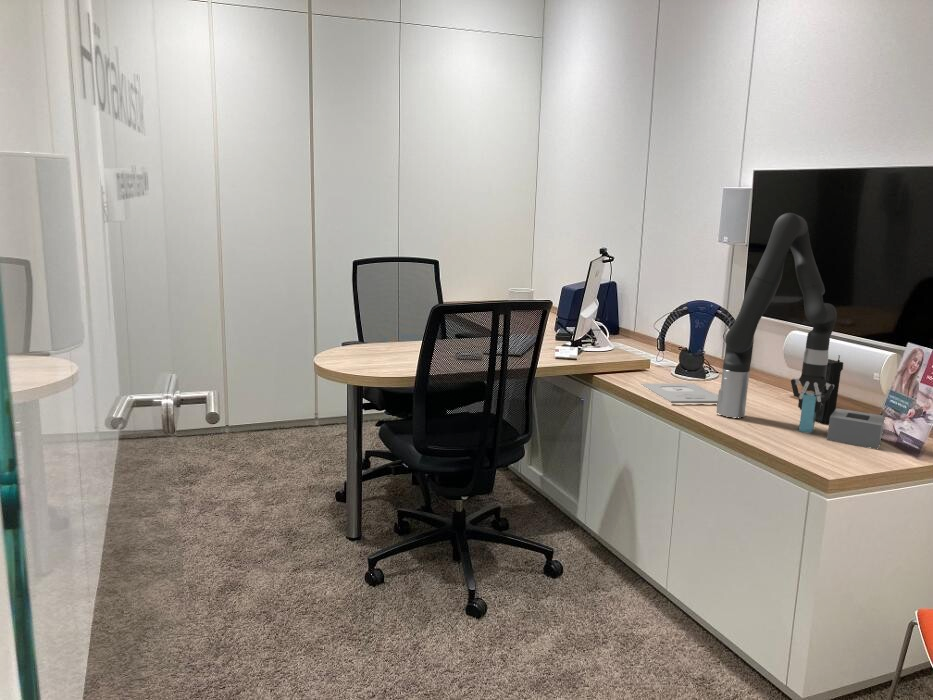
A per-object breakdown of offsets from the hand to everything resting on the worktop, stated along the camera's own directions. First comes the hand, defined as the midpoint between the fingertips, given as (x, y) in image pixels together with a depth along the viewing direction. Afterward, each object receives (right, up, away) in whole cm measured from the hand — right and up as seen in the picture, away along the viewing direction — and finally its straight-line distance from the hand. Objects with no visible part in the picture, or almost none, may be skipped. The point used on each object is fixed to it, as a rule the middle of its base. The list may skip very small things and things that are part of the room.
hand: (808, 410), depth 252 cm
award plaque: (-30, +1, +46) cm, 55 cm away
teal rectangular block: (0, -7, +1) cm, 7 cm away
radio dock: (+12, -9, -7) cm, 17 cm away
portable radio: (+12, -5, +15) cm, 20 cm away
